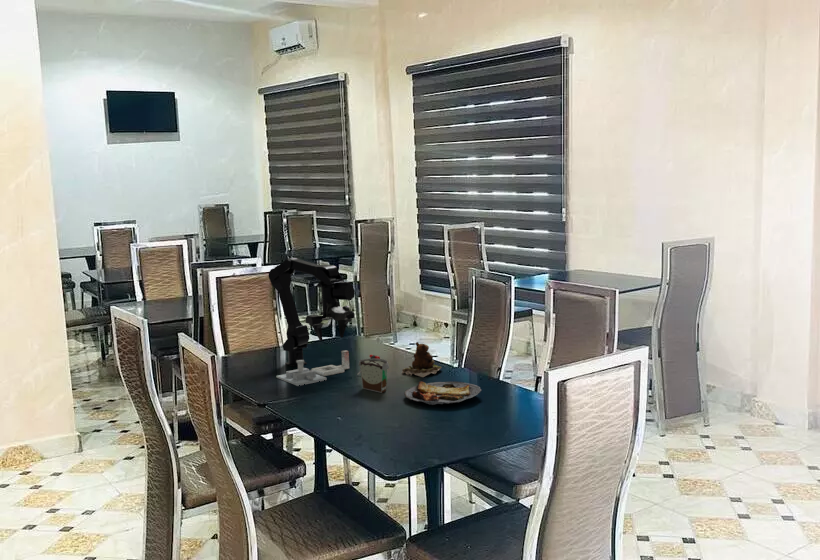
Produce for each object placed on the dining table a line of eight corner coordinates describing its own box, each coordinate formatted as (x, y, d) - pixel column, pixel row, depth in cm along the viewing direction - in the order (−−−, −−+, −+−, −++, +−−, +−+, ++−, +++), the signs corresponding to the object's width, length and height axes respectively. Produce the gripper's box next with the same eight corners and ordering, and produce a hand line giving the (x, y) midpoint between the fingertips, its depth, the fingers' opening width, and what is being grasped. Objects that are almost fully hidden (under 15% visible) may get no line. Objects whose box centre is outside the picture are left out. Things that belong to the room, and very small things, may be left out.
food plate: (394, 405, 255) (393, 394, 254) (418, 386, 276) (418, 376, 276) (469, 410, 246) (469, 399, 246) (488, 390, 268) (487, 380, 267)
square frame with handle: (341, 366, 309) (340, 348, 308) (354, 370, 302) (353, 352, 301) (311, 372, 301) (310, 354, 300) (323, 376, 294) (322, 358, 293)
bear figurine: (449, 370, 298) (448, 338, 296) (424, 378, 287) (422, 345, 285) (422, 365, 307) (420, 334, 305) (396, 373, 295) (394, 341, 294)
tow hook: (389, 370, 298) (380, 356, 295) (371, 389, 293) (362, 374, 290) (378, 367, 303) (369, 353, 300) (361, 386, 298) (351, 371, 295)
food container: (397, 389, 272) (396, 361, 271) (384, 393, 268) (383, 364, 267) (372, 384, 281) (371, 356, 280) (359, 387, 276) (358, 359, 275)
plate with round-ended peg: (276, 378, 294) (275, 360, 293) (304, 372, 301) (303, 354, 300) (297, 386, 281) (296, 367, 280) (326, 380, 288) (325, 361, 288)
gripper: (318, 304, 289) (321, 346, 290) (361, 298, 300) (363, 338, 302) (303, 301, 297) (305, 341, 299) (345, 295, 308) (347, 334, 310)
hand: (331, 339), depth 302 cm, fingers open, 9 cm apart
